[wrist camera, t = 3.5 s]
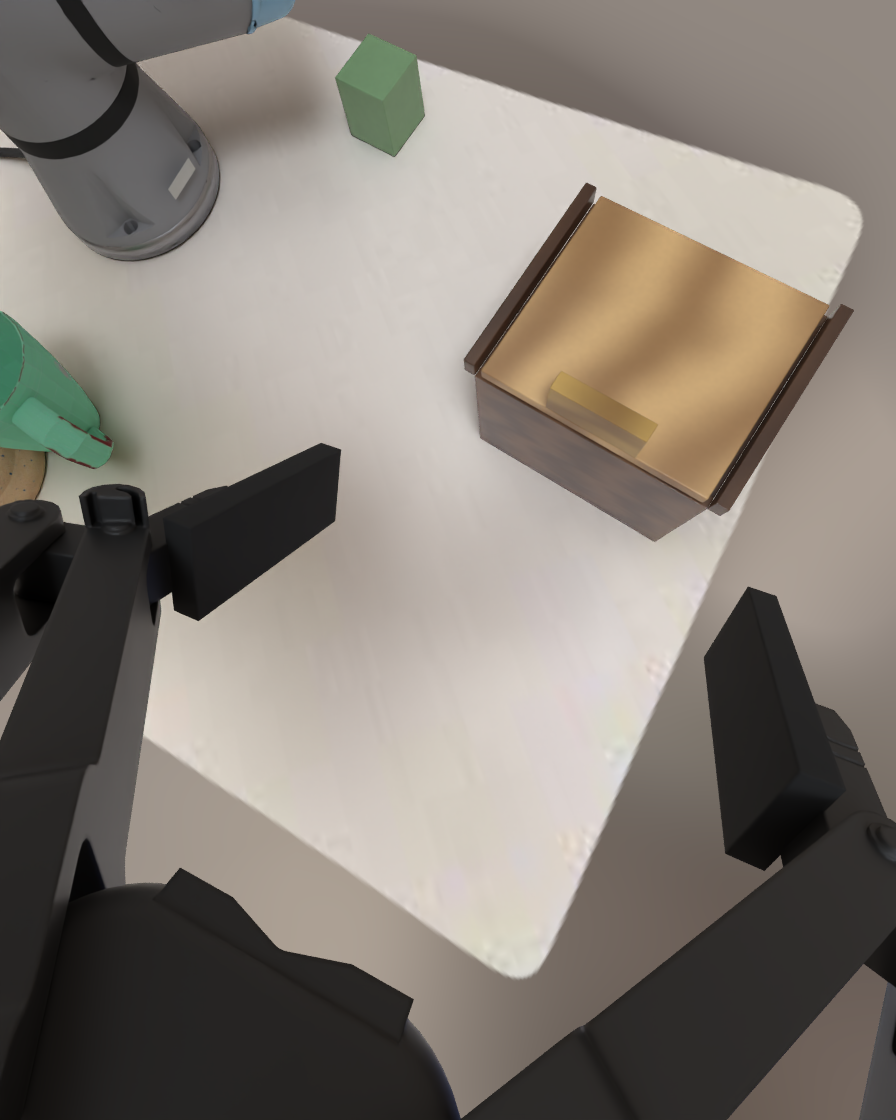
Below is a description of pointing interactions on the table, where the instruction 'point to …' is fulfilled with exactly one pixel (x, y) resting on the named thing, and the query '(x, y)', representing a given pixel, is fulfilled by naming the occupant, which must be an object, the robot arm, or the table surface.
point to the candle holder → (20, 474)
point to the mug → (45, 403)
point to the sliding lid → (654, 346)
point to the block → (381, 94)
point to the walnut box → (593, 465)
